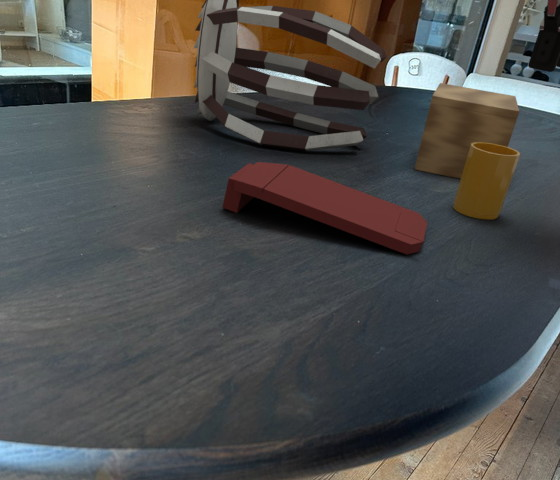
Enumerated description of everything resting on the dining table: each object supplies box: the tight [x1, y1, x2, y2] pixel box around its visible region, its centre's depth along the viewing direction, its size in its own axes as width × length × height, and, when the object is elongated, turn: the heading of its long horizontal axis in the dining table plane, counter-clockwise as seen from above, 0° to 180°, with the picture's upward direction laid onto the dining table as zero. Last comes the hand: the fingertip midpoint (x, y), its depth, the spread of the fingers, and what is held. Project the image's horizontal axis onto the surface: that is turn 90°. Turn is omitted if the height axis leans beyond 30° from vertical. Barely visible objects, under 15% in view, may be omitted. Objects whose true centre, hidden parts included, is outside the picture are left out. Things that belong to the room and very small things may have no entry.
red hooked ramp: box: [222, 161, 428, 255], centre depth 76 cm, size 12×5×25 cm
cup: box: [452, 142, 521, 220], centre depth 85 cm, size 7×7×9 cm
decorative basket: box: [193, 0, 388, 152], centre depth 105 cm, size 24×27×35 cm
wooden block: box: [414, 82, 520, 179], centre depth 106 cm, size 14×18×12 cm
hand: (554, 69), depth 75 cm, fingers open, 9 cm apart
